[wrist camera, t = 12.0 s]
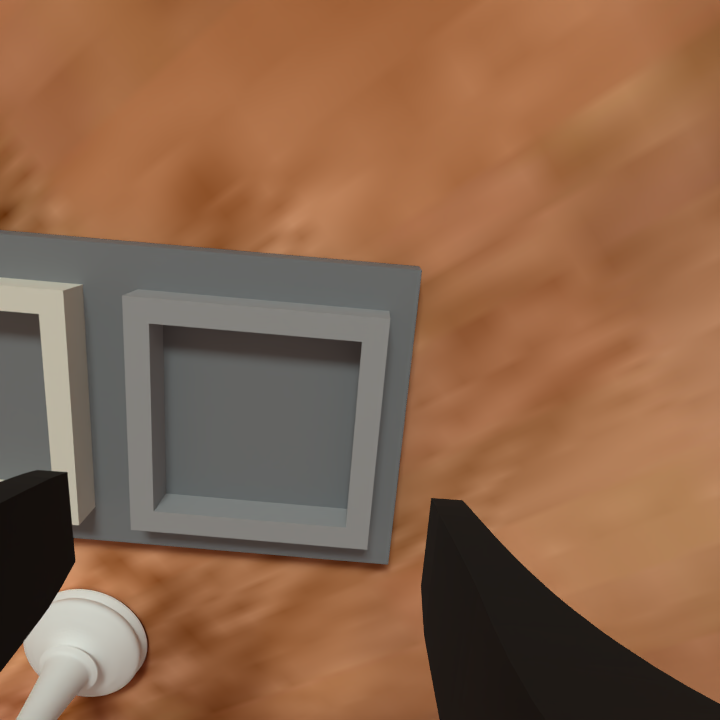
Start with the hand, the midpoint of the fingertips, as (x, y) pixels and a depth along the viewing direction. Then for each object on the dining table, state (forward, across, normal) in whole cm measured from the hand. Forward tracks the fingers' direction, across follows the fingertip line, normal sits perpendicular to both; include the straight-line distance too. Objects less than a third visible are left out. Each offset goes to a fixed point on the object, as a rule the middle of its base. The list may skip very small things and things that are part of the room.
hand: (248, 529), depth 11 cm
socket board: (+9, +6, +1) cm, 11 cm away
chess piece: (+10, +8, +12) cm, 18 cm away
